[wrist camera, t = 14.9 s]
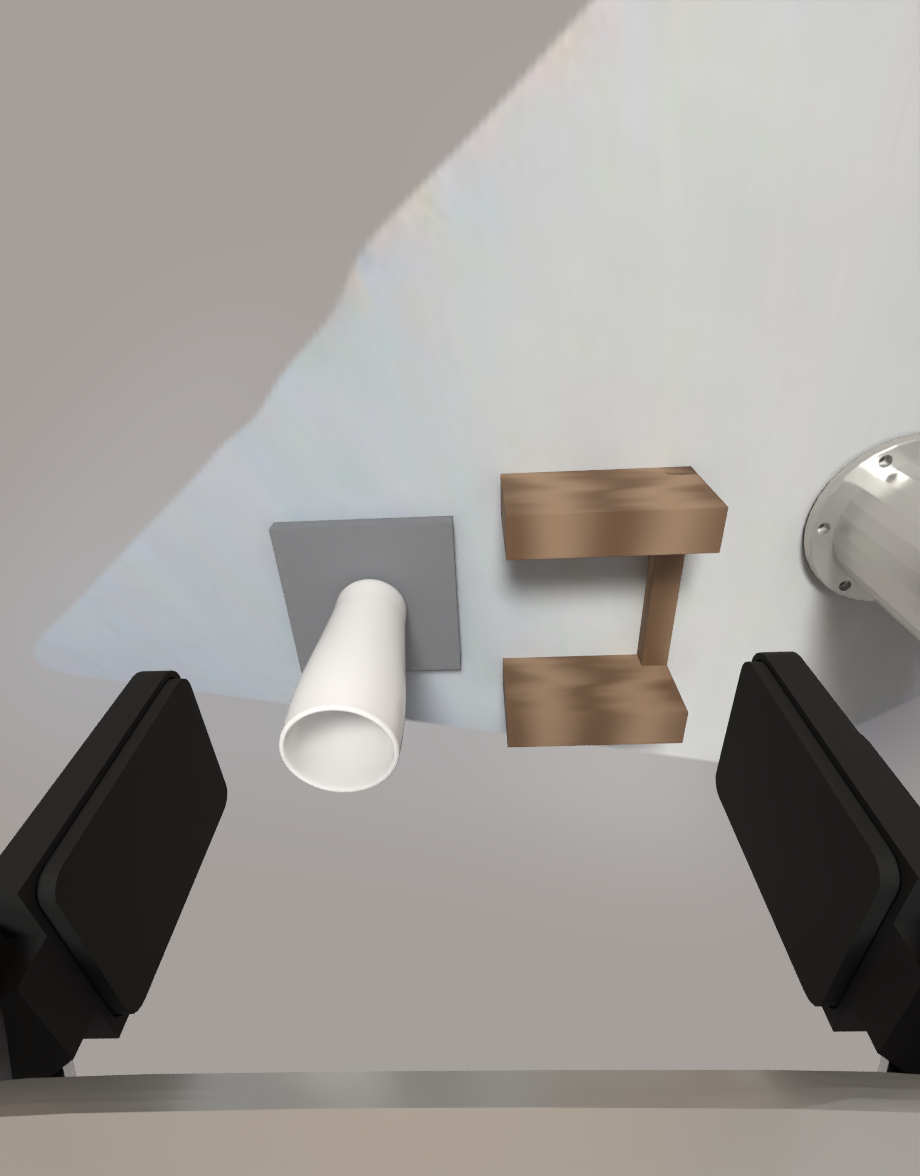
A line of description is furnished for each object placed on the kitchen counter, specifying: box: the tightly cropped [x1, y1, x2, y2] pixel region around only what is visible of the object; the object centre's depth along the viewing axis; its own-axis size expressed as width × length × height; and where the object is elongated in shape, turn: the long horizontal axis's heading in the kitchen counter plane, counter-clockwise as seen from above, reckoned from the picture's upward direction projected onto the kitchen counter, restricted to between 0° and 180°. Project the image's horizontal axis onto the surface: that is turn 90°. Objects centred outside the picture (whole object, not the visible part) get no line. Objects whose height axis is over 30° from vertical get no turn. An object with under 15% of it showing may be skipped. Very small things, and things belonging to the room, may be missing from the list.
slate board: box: [269, 516, 461, 673], centre depth 47 cm, size 13×13×1 cm
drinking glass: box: [279, 579, 407, 793], centre depth 40 cm, size 7×7×15 cm
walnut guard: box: [501, 466, 728, 747], centre depth 44 cm, size 13×19×7 cm
